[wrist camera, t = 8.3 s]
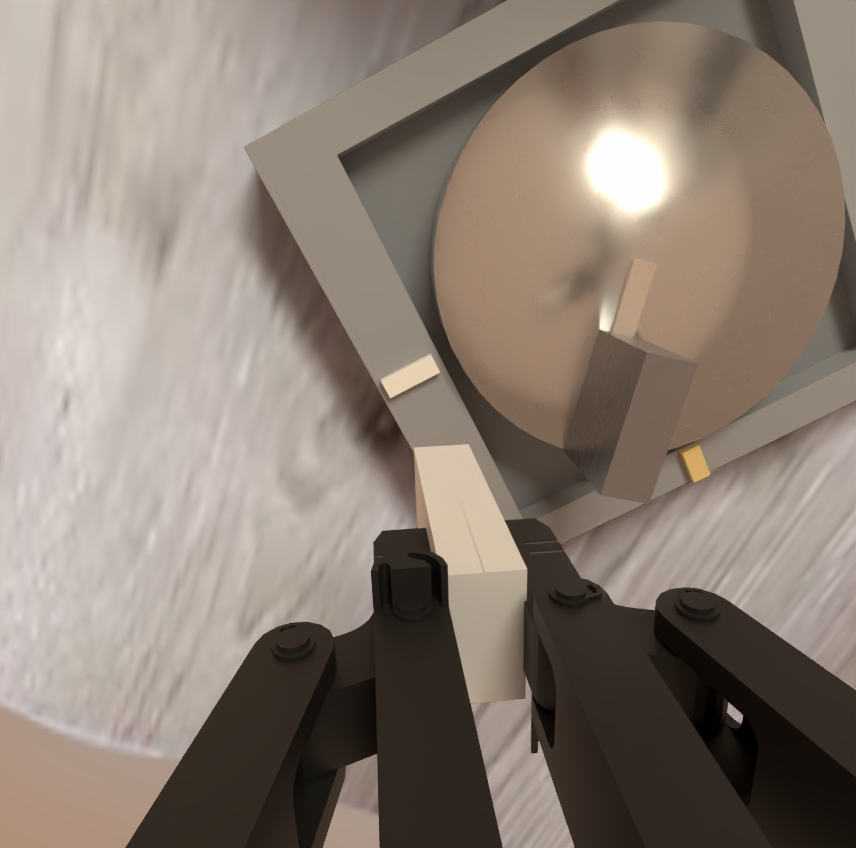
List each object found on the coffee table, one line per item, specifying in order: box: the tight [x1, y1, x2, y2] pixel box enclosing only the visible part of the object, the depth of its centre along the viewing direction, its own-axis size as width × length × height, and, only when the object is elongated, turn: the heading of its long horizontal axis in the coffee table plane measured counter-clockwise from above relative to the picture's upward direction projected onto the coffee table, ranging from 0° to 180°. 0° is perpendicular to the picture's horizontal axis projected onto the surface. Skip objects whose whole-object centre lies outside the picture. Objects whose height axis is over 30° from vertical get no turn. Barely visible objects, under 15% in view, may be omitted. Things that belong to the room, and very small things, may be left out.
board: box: [244, 0, 856, 544], centre depth 23 cm, size 20×18×3 cm
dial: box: [430, 21, 845, 504], centre depth 20 cm, size 14×14×6 cm
